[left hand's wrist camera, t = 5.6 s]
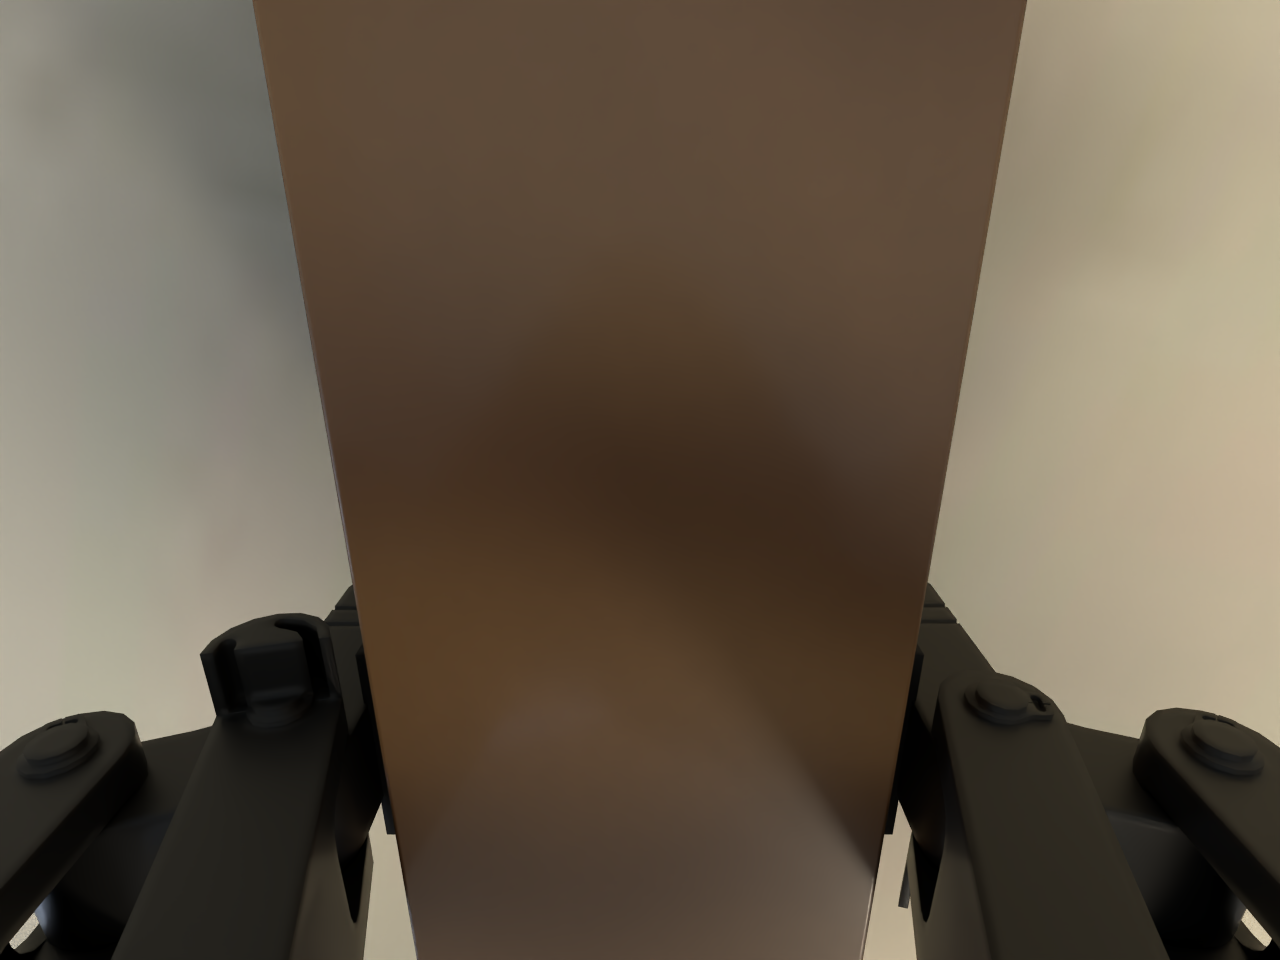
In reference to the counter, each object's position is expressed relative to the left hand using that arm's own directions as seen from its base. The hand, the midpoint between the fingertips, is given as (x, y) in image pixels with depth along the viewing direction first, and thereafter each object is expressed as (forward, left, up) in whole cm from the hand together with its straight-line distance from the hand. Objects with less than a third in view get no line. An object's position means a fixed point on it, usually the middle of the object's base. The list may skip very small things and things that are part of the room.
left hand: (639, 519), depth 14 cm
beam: (+19, -9, -1) cm, 21 cm away
